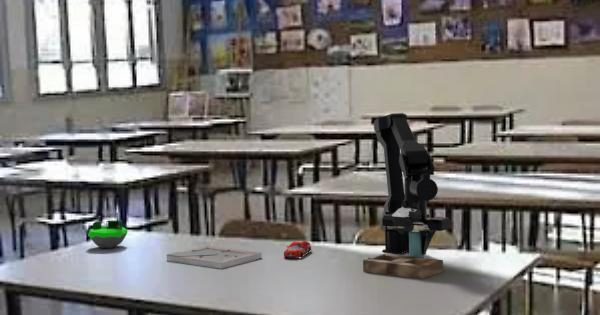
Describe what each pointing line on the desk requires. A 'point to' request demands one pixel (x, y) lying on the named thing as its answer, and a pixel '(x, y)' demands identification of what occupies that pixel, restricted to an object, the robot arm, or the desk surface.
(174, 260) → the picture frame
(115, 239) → the green grey rounded piece
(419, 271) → the socket block
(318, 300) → the desk surface
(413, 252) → the teal rounded cylinder
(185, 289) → the desk surface
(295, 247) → the race car
